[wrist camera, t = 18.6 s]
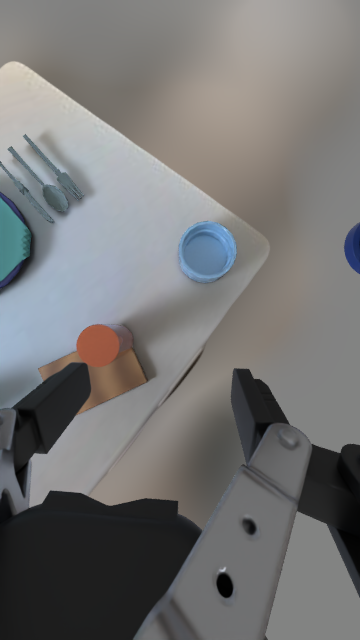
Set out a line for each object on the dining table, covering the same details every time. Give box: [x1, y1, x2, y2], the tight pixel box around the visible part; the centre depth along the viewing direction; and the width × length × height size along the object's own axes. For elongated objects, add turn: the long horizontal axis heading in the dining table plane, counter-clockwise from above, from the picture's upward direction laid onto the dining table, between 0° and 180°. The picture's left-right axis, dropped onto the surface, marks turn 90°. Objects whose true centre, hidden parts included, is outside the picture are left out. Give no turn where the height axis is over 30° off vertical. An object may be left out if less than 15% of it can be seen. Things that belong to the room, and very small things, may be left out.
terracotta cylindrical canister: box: [77, 324, 133, 367], centre depth 30 cm, size 6×6×8 cm
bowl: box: [179, 221, 237, 283], centre depth 34 cm, size 9×10×4 cm
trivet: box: [38, 347, 148, 415], centre depth 35 cm, size 16×10×1 cm, turn 115°
